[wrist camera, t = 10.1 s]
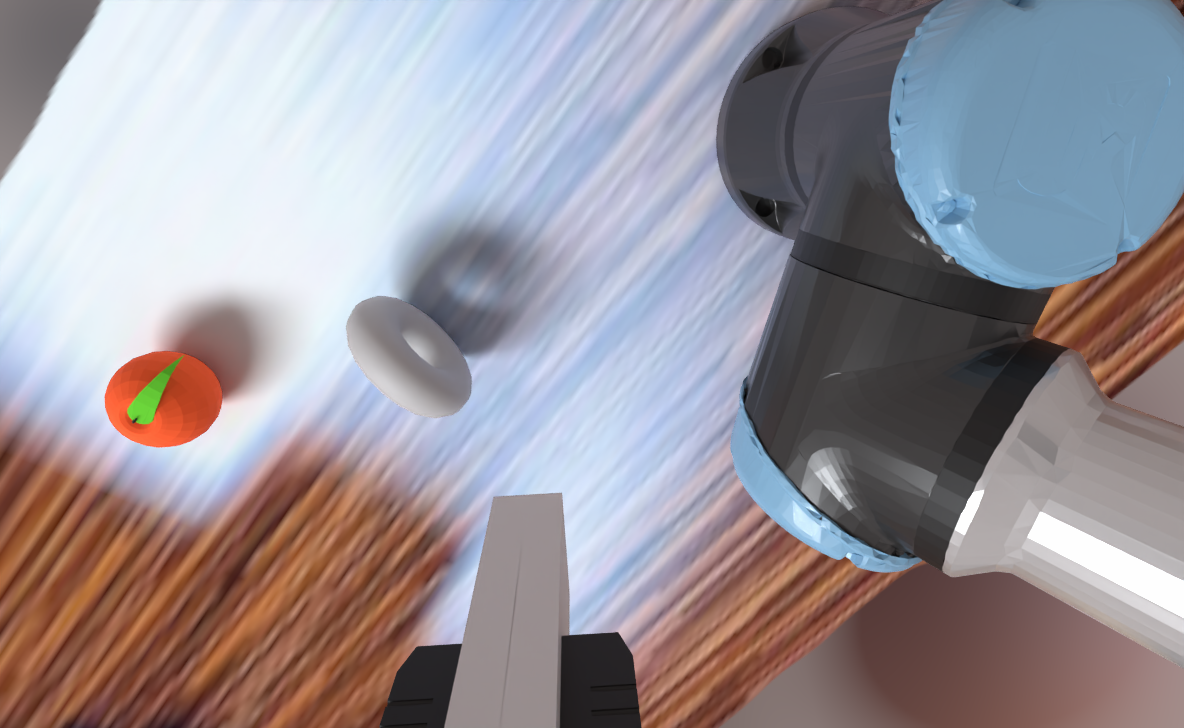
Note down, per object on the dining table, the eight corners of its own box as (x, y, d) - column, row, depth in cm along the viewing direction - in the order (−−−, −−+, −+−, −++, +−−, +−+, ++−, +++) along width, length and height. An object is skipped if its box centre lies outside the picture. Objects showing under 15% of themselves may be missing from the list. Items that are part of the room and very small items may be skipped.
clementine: (171, 309, 45) (105, 340, 38) (260, 358, 46) (212, 395, 40) (130, 392, 47) (61, 434, 40) (217, 435, 48) (165, 483, 42)
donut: (360, 302, 45) (312, 346, 36) (391, 272, 45) (350, 308, 35) (457, 391, 48) (436, 452, 39) (488, 364, 48) (473, 419, 38)
